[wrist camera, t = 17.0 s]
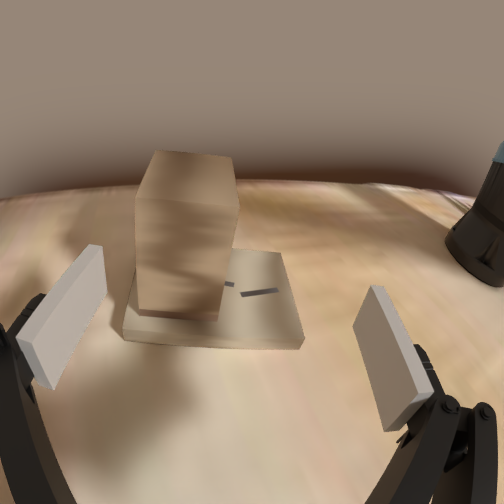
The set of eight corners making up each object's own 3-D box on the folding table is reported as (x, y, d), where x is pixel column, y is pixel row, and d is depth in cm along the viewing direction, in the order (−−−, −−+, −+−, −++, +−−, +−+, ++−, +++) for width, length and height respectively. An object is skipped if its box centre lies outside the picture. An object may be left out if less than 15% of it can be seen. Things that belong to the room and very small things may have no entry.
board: (276, 263, 33) (280, 252, 33) (299, 349, 25) (305, 338, 24) (143, 252, 30) (143, 240, 30) (124, 340, 22) (122, 328, 21)
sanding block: (214, 256, 30) (231, 157, 24) (217, 321, 24) (240, 207, 18) (151, 251, 29) (156, 149, 23) (139, 315, 22) (134, 197, 16)
